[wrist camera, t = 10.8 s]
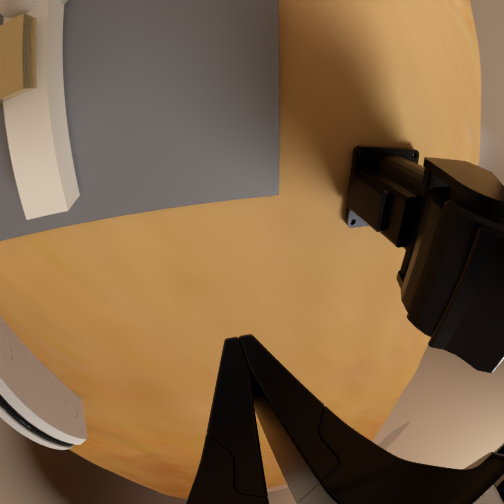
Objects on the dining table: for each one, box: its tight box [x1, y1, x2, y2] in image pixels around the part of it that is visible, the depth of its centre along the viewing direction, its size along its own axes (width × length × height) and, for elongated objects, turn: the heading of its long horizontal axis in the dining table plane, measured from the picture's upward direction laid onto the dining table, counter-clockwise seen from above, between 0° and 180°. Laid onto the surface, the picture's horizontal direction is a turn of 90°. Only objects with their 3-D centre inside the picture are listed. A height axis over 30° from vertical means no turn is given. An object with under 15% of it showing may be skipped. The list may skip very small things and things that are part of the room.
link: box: [0, 0, 80, 220], centre depth 9 cm, size 16×4×4 cm, turn 0°
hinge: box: [0, 316, 88, 450], centre depth 19 cm, size 17×5×10 cm, turn 12°
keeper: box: [0, 14, 37, 109], centre depth 8 cm, size 6×4×5 cm
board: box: [0, 0, 279, 241], centre depth 12 cm, size 21×21×1 cm
